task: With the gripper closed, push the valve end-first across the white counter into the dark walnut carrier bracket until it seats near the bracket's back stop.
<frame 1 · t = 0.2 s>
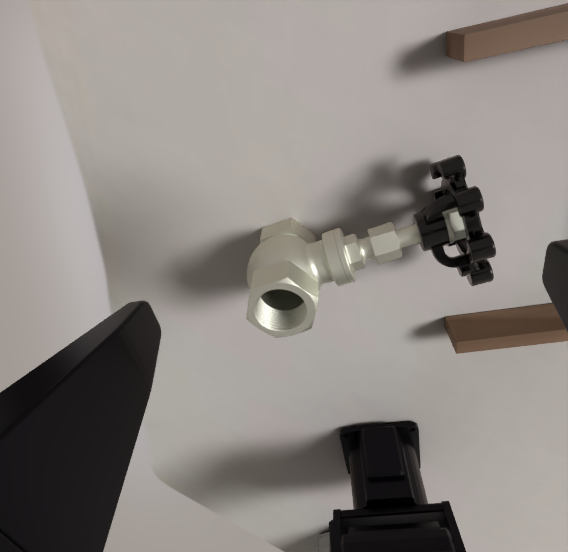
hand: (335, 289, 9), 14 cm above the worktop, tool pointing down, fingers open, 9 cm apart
skincare box: (365, 535, 46), on the worktop
valve: (347, 223, 24), on the worktop
carrier bracket: (529, 196, 23), on the worktop
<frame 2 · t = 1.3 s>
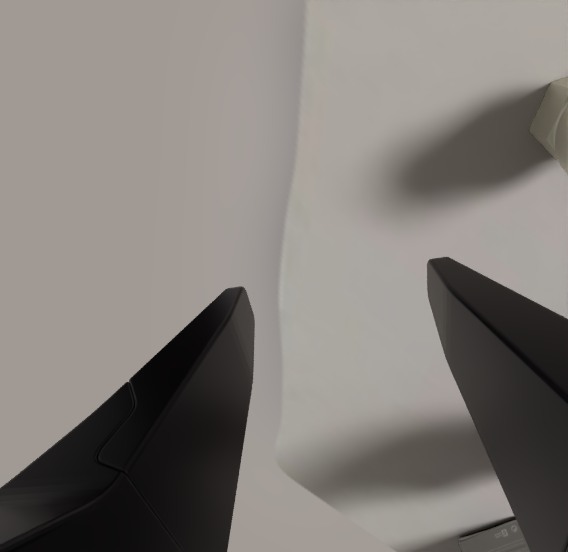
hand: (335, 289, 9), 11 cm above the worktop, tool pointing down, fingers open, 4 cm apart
skincare box: (513, 539, 38), on the worktop
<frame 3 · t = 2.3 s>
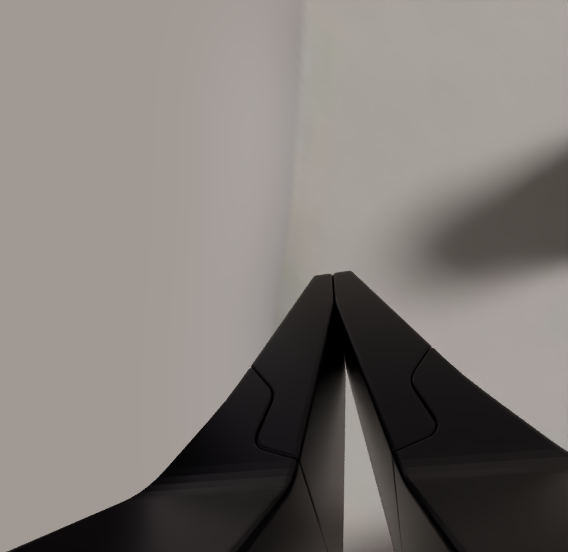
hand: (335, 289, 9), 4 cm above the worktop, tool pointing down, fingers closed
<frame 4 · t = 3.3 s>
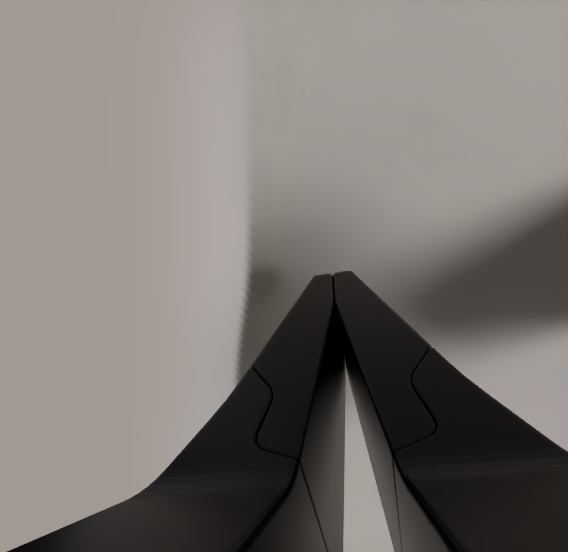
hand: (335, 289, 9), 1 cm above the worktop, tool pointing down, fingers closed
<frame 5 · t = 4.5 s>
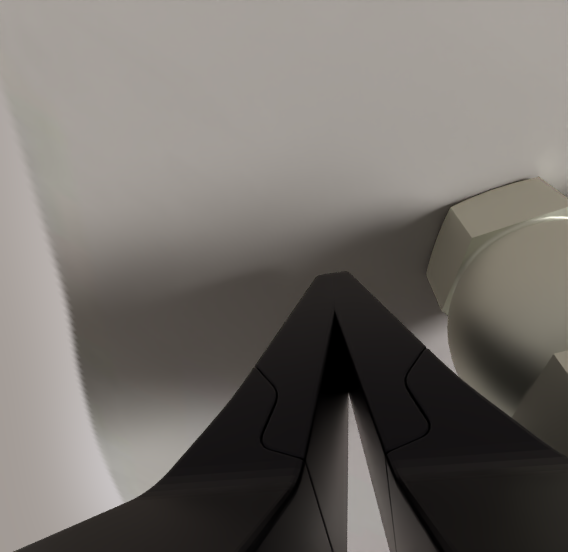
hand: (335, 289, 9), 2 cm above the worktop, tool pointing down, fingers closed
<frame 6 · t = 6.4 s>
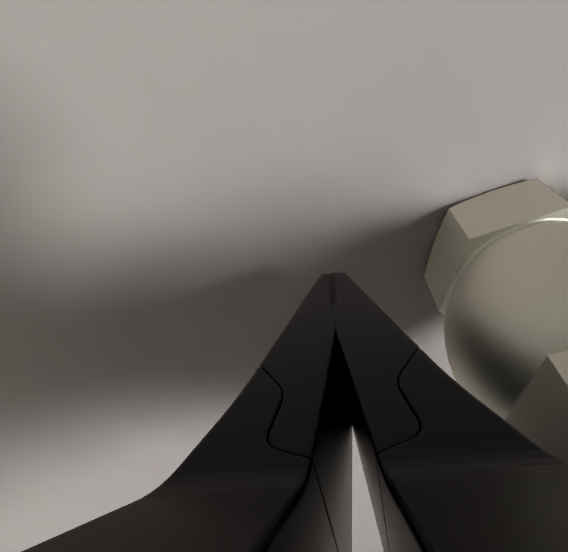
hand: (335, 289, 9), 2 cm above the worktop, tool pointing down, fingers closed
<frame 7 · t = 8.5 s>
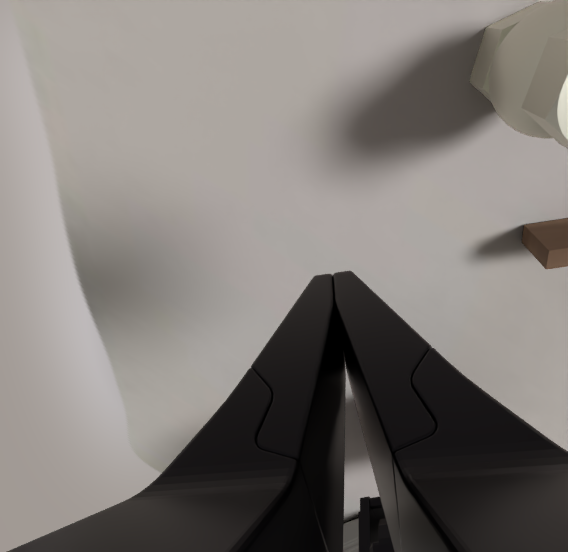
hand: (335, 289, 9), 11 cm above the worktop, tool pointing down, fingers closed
skincare box: (388, 527, 38), on the worktop
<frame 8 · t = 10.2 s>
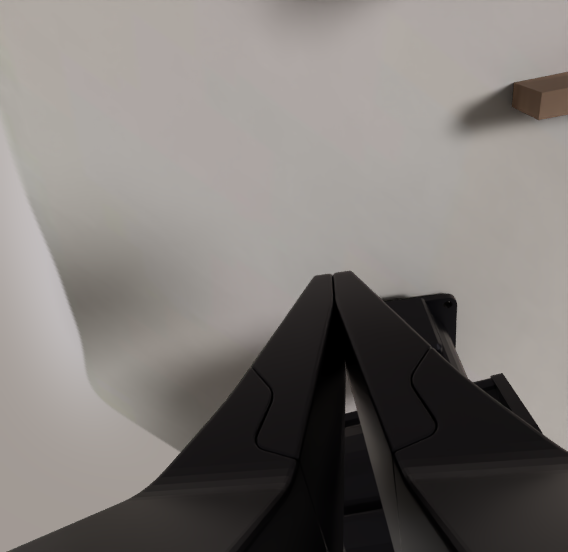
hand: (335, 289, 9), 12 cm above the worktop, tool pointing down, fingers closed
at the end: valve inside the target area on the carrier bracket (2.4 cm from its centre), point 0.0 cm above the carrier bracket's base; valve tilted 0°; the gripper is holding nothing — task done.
